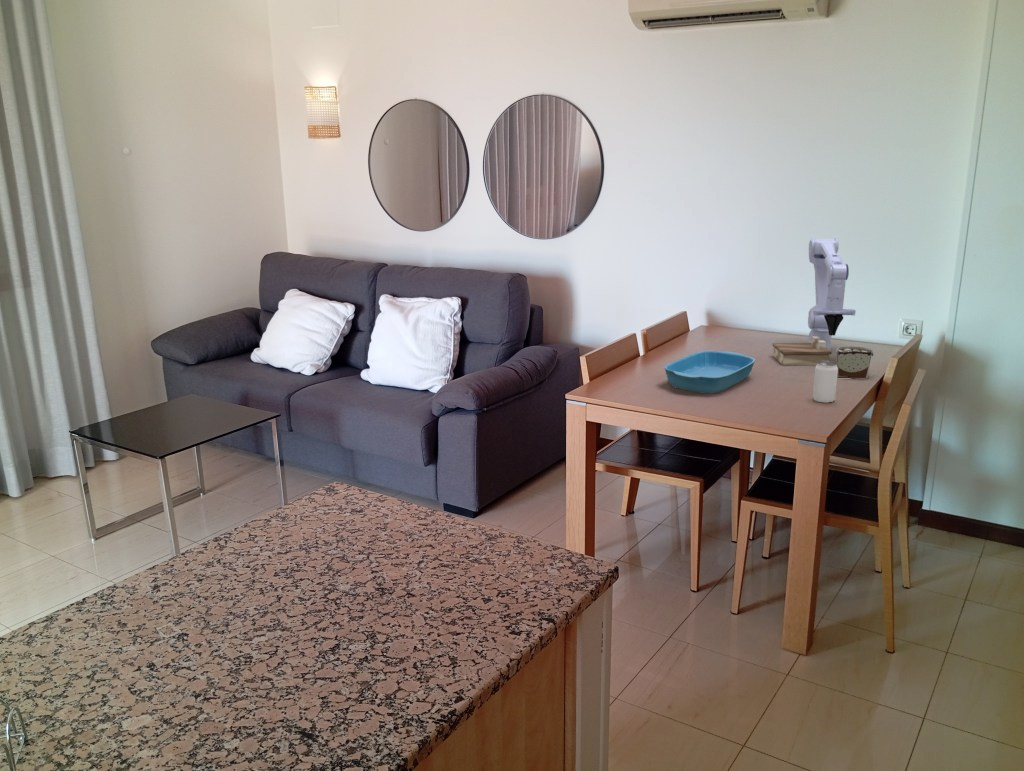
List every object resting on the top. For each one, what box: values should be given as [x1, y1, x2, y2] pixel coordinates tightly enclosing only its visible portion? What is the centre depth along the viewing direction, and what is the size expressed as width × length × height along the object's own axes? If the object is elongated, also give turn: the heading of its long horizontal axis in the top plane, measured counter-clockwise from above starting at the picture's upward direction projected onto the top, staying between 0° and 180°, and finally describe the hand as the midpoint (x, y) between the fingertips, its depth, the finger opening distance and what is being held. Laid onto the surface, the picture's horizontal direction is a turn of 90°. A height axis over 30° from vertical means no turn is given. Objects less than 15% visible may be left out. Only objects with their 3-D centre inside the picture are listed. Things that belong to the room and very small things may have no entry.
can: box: [812, 360, 838, 404], centre depth 249 cm, size 6×6×12 cm
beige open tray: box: [773, 347, 830, 366], centre depth 295 cm, size 13×16×4 cm
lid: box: [772, 336, 833, 355], centre depth 293 cm, size 14×17×4 cm
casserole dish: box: [664, 350, 756, 394], centre depth 272 cm, size 37×22×7 cm, turn 140°
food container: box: [834, 345, 874, 380], centre depth 275 cm, size 12×6×10 cm, turn 84°
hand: (831, 335), depth 292 cm, fingers closed
